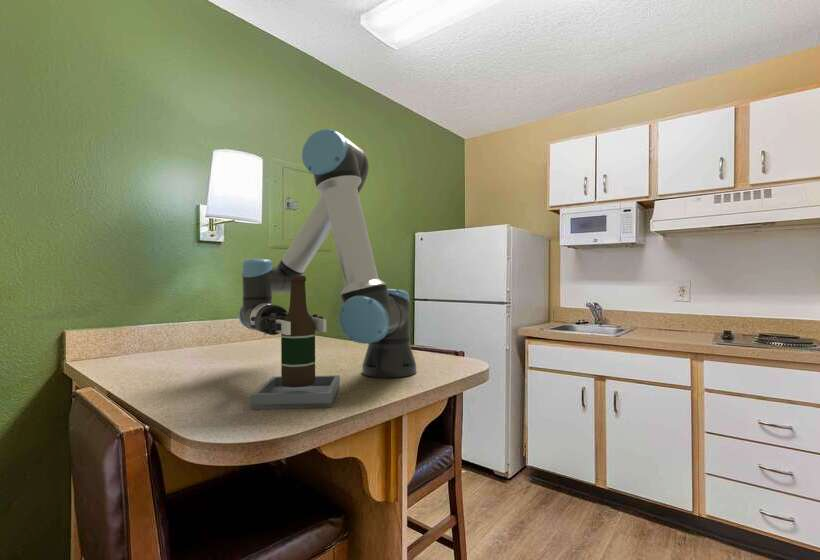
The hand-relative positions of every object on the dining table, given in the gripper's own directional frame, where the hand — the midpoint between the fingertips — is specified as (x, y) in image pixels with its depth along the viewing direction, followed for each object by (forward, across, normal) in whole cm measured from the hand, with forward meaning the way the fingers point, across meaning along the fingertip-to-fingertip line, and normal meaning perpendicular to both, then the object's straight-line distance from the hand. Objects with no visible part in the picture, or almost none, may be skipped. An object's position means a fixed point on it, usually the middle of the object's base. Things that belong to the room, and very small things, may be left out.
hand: (307, 327), depth 90 cm
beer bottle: (-5, 0, -13) cm, 14 cm away
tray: (-5, 0, -16) cm, 17 cm away
